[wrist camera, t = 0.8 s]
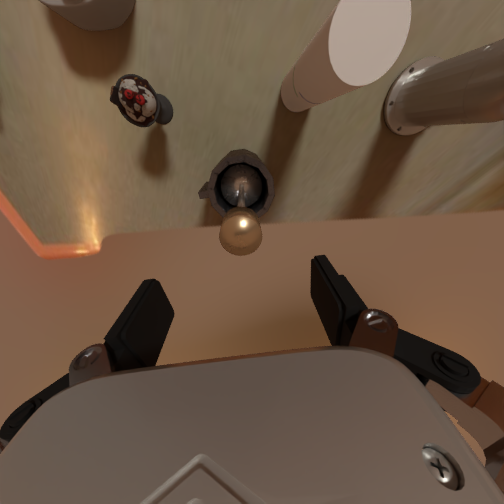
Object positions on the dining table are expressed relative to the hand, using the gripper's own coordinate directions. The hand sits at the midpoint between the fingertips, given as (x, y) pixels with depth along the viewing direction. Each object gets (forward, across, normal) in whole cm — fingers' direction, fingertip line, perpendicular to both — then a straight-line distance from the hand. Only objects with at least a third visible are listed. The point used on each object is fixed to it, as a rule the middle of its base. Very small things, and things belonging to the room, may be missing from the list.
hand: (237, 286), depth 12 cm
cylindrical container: (+40, -14, -14) cm, 45 cm away
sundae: (+40, +14, -15) cm, 45 cm away
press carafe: (+40, +1, 0) cm, 40 cm away
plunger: (+28, 0, 0) cm, 28 cm away
